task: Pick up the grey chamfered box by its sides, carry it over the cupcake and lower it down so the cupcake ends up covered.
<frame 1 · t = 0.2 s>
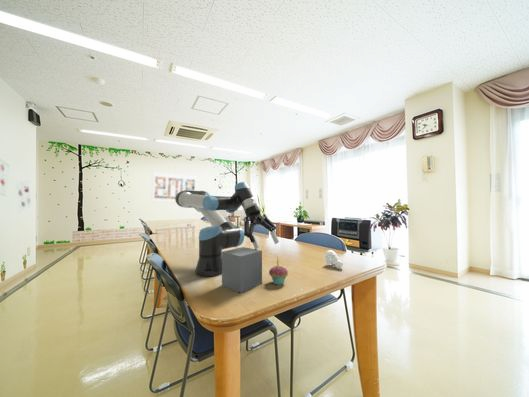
hand: (267, 245, 98), 15 cm above the table, tool tilted 35°, fingers open, 13 cm apart
grey chamfered box: (242, 284, 90), on the table, touching gripper
white figurine: (334, 267, 115), on the table
cupcake: (278, 283, 92), on the table
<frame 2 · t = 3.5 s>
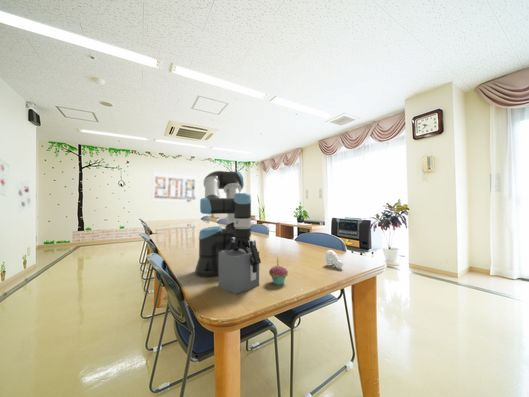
hand: (242, 276, 90), 4 cm above the table, tool pointing down, fingers closed on grey chamfered box, 12 cm apart
grey chamfered box: (238, 285, 89), on the table, touching gripper
everything else where it was.
when the fingers open (5 cm above the table, at t = 13.0 s): grey chamfered box drops 2 cm, on the table.
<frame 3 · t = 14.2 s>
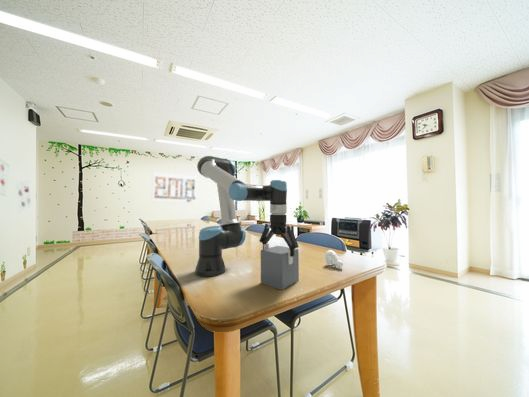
hand: (277, 260, 93), 10 cm above the table, tool pointing down, fingers open, 13 cm apart
grey chamfered box: (280, 281, 93), on the table, touching gripper
everything else where it was.
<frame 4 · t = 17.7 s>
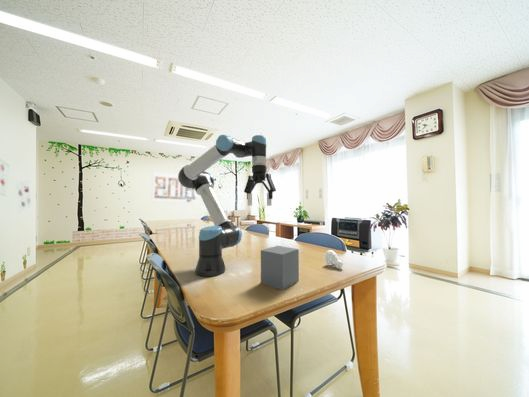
hand: (259, 205, 107), 35 cm above the table, tool pointing down, fingers open, 13 cm apart
grey chamfered box: (280, 281, 93), on the table
everything else where it was.
at the end: grey chamfered box 1.2 cm from the cupcake (horizontally); grey chamfered box on the table; grey chamfered box tilted 0° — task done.
